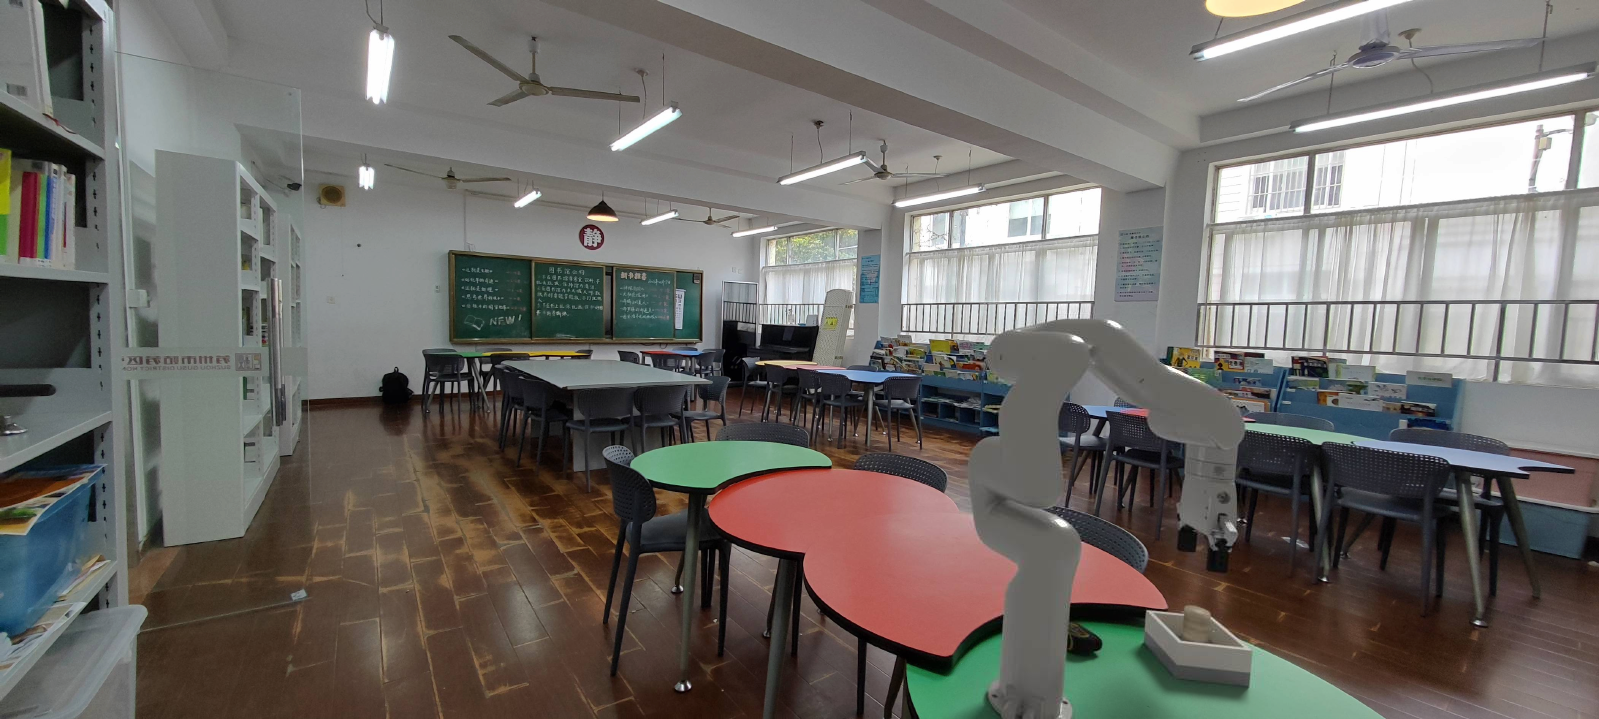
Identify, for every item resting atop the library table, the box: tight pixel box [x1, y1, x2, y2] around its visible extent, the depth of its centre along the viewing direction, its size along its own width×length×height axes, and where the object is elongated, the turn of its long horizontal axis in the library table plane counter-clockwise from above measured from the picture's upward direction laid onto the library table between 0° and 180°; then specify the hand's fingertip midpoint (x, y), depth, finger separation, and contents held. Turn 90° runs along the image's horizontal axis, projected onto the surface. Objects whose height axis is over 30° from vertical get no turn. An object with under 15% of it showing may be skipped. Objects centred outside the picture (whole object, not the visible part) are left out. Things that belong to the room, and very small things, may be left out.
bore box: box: [1143, 609, 1253, 688], centre depth 106 cm, size 12×12×6 cm
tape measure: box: [1067, 621, 1104, 655], centre depth 110 cm, size 7×7×4 cm
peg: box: [1182, 604, 1212, 644], centre depth 106 cm, size 4×4×10 cm
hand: (1200, 561), depth 105 cm, fingers open, 9 cm apart
